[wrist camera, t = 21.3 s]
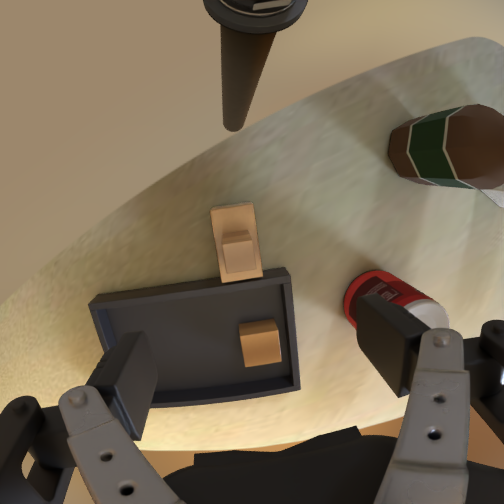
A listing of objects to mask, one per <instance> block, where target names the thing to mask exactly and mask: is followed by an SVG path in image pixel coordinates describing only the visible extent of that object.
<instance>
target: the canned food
mask: <svg viewBox="0 0 504 504" xmlns="http://www.w3.org/2000/svg"><path fill="white" fill-rule="evenodd" d="M374 293H378V294H379V295H380V296H382V297H383V298H384V299H385V300H387V301H388V302H392V303H395V304H398V305H401V306H403V307H404V308H405V309H407V310H408V311H409V313H410V312H411V313H412V314H413V315H415V317H417V318H418V319H420V320H421V321H422V322H424V323H425V324H426V325H427V326H429V327H430V328H431V329H433V328H449V317H448V314H447V312H446V310H445V309H444V308H443V307H442V306H441V305H440V304H439V303H438V302H436V301H435V300H433V299H432V298H430V297H429V296H427V295H425V294H424V293H422V292H420V291H419V290H417V289H415V288H414V287H412V286H411V285H409V284H407V283H406V282H404V281H402V280H401V279H399V278H397V277H395V276H394V275H392V274H390V273H389V272H385V271H369V272H366V273H364V274H362V275H360V276H359V277H357V278H356V279H355V280H354V281H353V282H352V283H351V284H350V286H349V288H348V289H347V291H346V294H345V298H344V310H345V315H346V317H347V319H348V321H349V322H350V323H351V324H352V326H353V327H354V328H355V329H356V330H357V319H356V302H357V298H358V297H360V296H364V295H369V294H374Z"/></svg>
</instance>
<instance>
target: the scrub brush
mask: <svg viewBox="0 0 504 504" xmlns="http://www.w3.org/2000/svg"><path fill="white" fill-rule="evenodd" d="M210 215H211V221H212V227H213V233H214V240H215V246H216V252H217V258H218V263H219V269H220V275H221V281H222V283H225V282H231V281H238V280H244V279H251V278H257V277H263V271H262V264H261V257H260V249H259V242H258V235H257V227H256V220H255V213H254V206H253V204H252V203H251V202H243V203H236V204H229V205H223V206H216V207H212V208H211V210H210Z"/></svg>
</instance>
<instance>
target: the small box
mask: <svg viewBox="0 0 504 504" xmlns="http://www.w3.org/2000/svg"><path fill="white" fill-rule="evenodd" d="M481 191H482V192H484V193H485V194H486V195H487V196H488V197H489V198H490V199H492V200H493V201H494V202H495V203H496V204H497V205H498V206H499V207H503V208H504V184H503V185H501V186H499V187H496V188H494V189H488V190H481Z"/></svg>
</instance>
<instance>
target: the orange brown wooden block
mask: <svg viewBox="0 0 504 504" xmlns="http://www.w3.org/2000/svg"><path fill="white" fill-rule="evenodd" d="M239 333H240V341H241V346H242V352H243V358H244V363H245V367H251V366H257V365H264V364H270V363H276V362H281V361H282V360H281V351H280V342H279V333H278V328H277V326H276V323H275V320H274V319H268V320H261V321H255V322H249V323H242V324H239Z"/></svg>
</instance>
